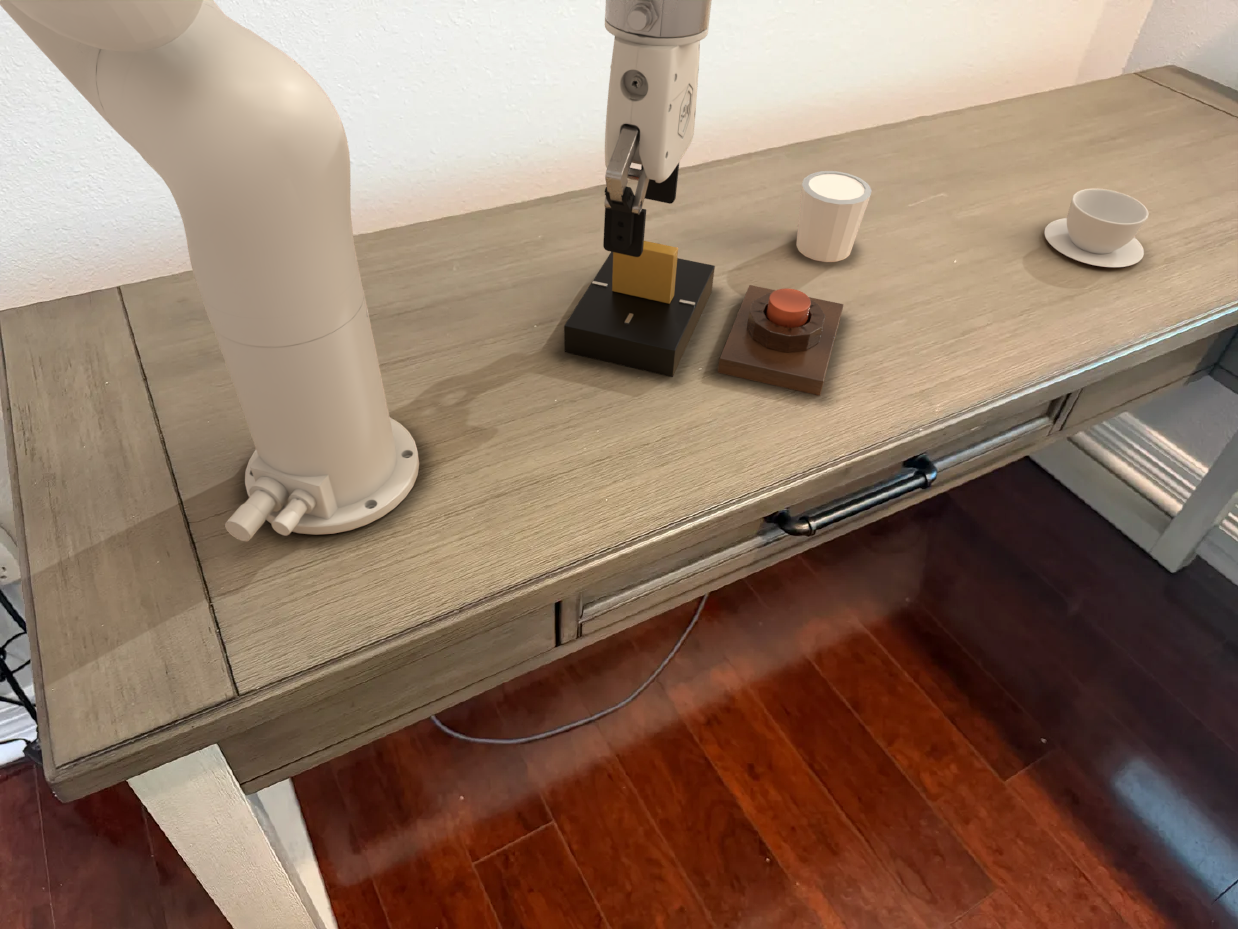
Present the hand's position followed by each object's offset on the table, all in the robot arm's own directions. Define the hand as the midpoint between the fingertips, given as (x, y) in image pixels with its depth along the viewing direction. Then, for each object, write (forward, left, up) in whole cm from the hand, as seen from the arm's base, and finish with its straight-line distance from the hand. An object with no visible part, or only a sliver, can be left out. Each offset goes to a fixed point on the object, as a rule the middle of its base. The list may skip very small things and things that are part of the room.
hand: (640, 224), depth 75 cm
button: (+2, -13, -7) cm, 15 cm away
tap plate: (+1, 0, -10) cm, 10 cm away
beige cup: (+20, -14, -11) cm, 26 cm away
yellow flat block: (+1, 0, -7) cm, 7 cm away
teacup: (+31, -41, -10) cm, 53 cm away
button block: (+2, -13, -10) cm, 17 cm away
